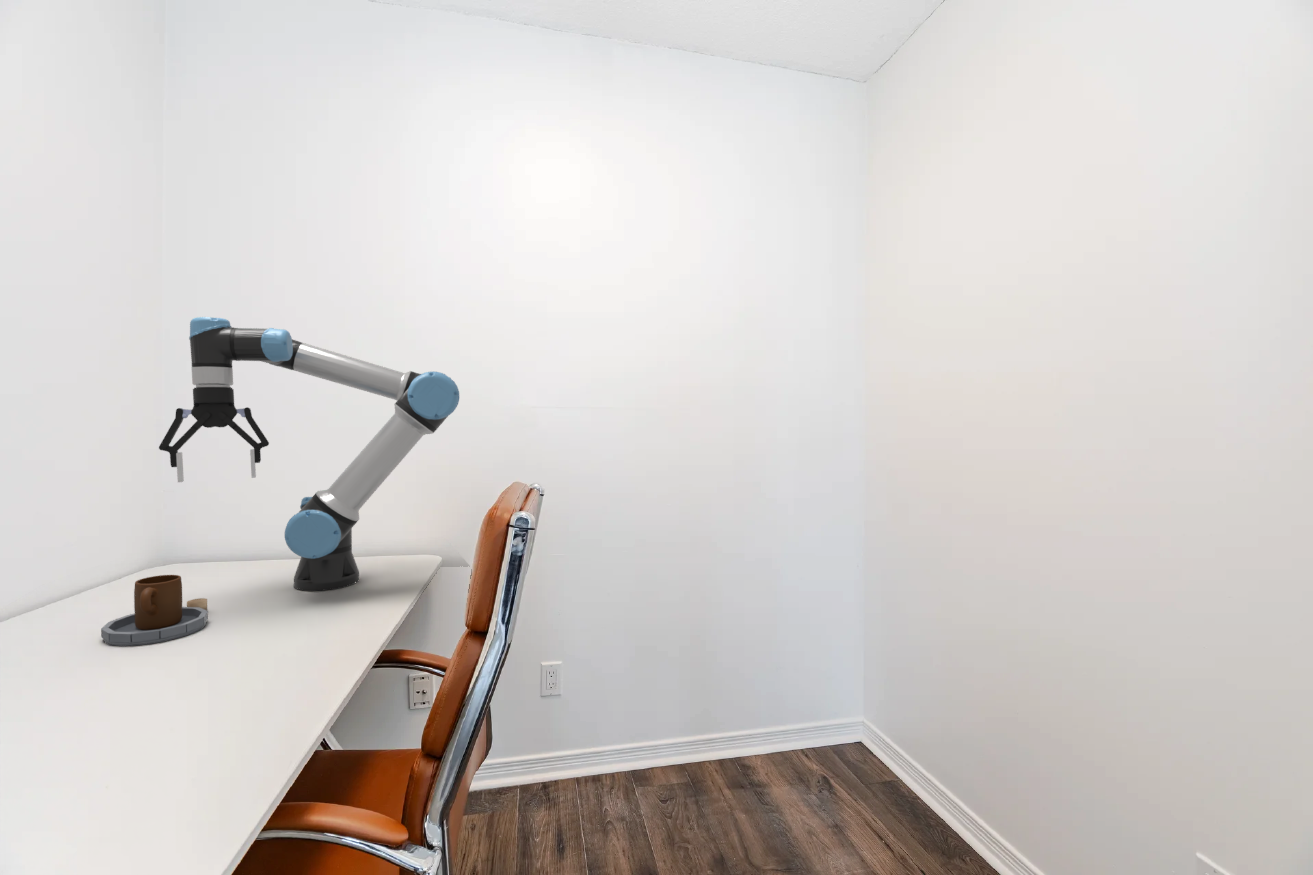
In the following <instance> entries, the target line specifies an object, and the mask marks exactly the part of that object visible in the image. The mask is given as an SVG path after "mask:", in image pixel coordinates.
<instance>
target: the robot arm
mask: <svg viewBox="0 0 1313 875" xmlns="http://www.w3.org/2000/svg"><path fill="white" fill-rule="evenodd" d="M292 338H293V337H292V336H291V333H290V332H289V331H288V330H287V329H284V328H283V329H280V328H275V327H268V328H257V327H256V328H255V327H254V328H251V327H250V328H248V327H247V328H246V327H245V328H244V327H243V328H241V327H239V328H238V327H232V325H231V322H230V321H229V319H226V318H221V317H211V316H210V317H209V316H202V317H201V316H197V317H194V318H192V319H191V320H190V322H189V337H188V340H189V345H190V347H189V348H190V356H191V357H190V359H191V379H192V385H193V386H195V387H194V388H192V401H193V407H192V409H185V408H180V407H179V408H176V409H175V418H174V420H173V422H172V423H171V425H170V427H168V430H167V432H166V433H165V435H164V437H163V439H162V440H161V443H160V444H159V446H158V450H160V451H164V452H167V453H169V458H170V460H169V462H170V466H171V468H176V473H177V475H176V476H177V483H183V482H185V481H184V478H185V477H184V463H183V462H184V461H183V452H182V451H180V449H181V448H182V447H183V446H184V445H185V444H186V443H187V442H188V441H189V440H190V439H191V438H192V437H193V436H194V435H195V434H196V432H198V431H199V430H200V429H201V428H202V427H204V428H208V429H209V428H210V429H211V428H214V427H216V428H225V427H227V426H229V428H231V429H232V430H233V431H234V432H236V434H237V435H238V436H240V437H241V438H242V439H243V440H245V441H246V442H247V444H249V445H250V446H251V447H252V449H250V450H249V452H250V454H249V455H250V469H251V470H250V474H251V478H252V479H253V478H256V476H257V472H256V464H260V463H261V461H262V459H261V455H262V454H261V450H262V448H265V447H268V446H269V444H270V442H269V440H268V439H267V437H266V436H265V435H264V433H263V431H262V430H261V429H260V427H259V425H258V423H257V422H256V420H255V419H254V418H253V415H252V410H251V408H250V407H245V408H236V406H235V395H234V394H235V392H234V388H233V387H231V386H233V385H234V372H233V371H234V370H233V361H235V362H237V361H238V362H242V361H243V362H244V361H245V362H262V363H265V364H269V365H272V366H274V367H280V368H282V369H287V370H290V371H295V372H298V373H301V374H305V375H308V376H312V377H316V378H319V379H322V380H325V381H329V382H333V383H335V384H340V385H342V386H346V387H349V388H354V389H357V390H361V391H364V392H368V393H370V394H375V395H378V396H382V397H385V398H387V399H392V400H394V401H396V402H395V403H394V414H393V415H392V416H391V417H390V418H389V420H388V421H387V422H386V423H385V424H384V425H383V426H382V427H381V429H380V430H378V432H377V433H376V434H375V435H374V436H373V437H372V439H371V440H369V442H368V443H367V445H366V446H365V447H364V448H363V449H362V450H361V451H360V452H359V453H358V455H357V456H356V457H355V458H354V459H353V460H352V461H351V462H350V463H349V465H348V466H347V467H346V468H345V470H344V471H343V472H342V473H341V474H340V475H339V476H338V477H337V478H336V480H334V482H333V483H332V484H331V485H330V486H329V487H328V488H327V489H325V490H317V491H316V492H315V494H314V495H313V496H304V497H303V498H302V499H301V502H300V506H299V507H300V510H299V511H298V512H297V513H296V514H294V515H292V516H291V518H289V520H288V522H287V524H286V526H285V528H284V540H285V543H286V545H287V547H288V548H289V550H290V551H291V552H292V553H293V554H294V555H297V556H299V557H300V559H299V562H298V565H297V568H296V571H295V573H294V576H293V588H294V589H296V590H299V591H311V592H312V591H315V592H316V591H328V590H336V589H340V588H341V589H343V588H346V587H349V586H352V585H354V584H356V583H358V582H359V581H358V580H360V571H359V568H358V565H357V562H356V560H355V557H354V555H353V549H352V548H353V546H352V544H353V540H352V539H353V537H352V536H353V530H352V529H353V528H354V527H355V525H356V524H357V523H358V522H359V520H360V514H359V513H360V512H359V511H360V510H361V509H362V507H363V506H364V505H365V503H367V501H368V500H369V499H370V498H371V497H372V496H373V494H374V493H376V491H377V490H378V488H380V486H381V485H382V484H384V482H385V481H386V480H387V478H388V477H389V476H390V475H391V473H392V472H393V471H394V470H395V469H396V468H397V467H398V465H400V463H401V462H402V461H403V459H405V457H406V456H407V455H408V454H409V453H410V452H411V450H412V449H413V448H414V447H415V446H416V445H417V444H418V442H419V441H420V440H421V439H422V437H423V436H425V435H430V434H431V435H432V434H434V433H436V431H437V430H438V429H439V428H440V426H441V425H442V424H443V423H444V421H445V420H447V418H449V416H450V415H451V414H452V413H454V412H455V410H456V409H457V408H458V405H459V402H460V391H459V388H458V385H457V384H456V382H455V381H454V379H452V378H451V377H450V376H448V375H447V374H445V373H443V372H439V371H426V372H423V373H417V372H414V371H411V370H409V371H407V372H403V371H398V370H396V369H395V370H394V369H393V368H392V369H391V368H388V367H385V366H383V365H379V364H375V363H373V362H369V361H366V360H365V361H364V360H362V359H358V358H355V357H352V356H348V355H346V354H343V353H338V352H335V351H331V350H329V349H326V348H322V347H318V346H315V345H311V344H309V343H305V342H301V341H298V340H296V339H292ZM237 414H238V415H240V417H242V418H245V420H246V422H247V423H248V424H249V426H250V428H251V429H252V430H253V432H254V433H255V435H256V436H257V438H258V439H259V441H260V442H257V441H256V440H255V439H254V438H253V437H251V435H250V434H248V433H247V432H246V431H245V430H244V429H242V427H241V426H239V425H238V423H236V422H235V421H234V418H235V417H236V416H237ZM189 415H191V416H192V417H193V418H194V419H195V420H196V421H195V422H194V423H193V424H192V426H191V427H190V428H189V429H188V430H187V431H186V432H185V433H184V434H182V436H181V437H180V438H179V439H178V440H177V441H176V442H175V443H173V445H172V446H171V445H170V444H171V443H172V440H173V439H174V437H175V435H176V433H177V432H178V430H179V428H180V427H181V426H182V423H183V420H184V419H187V418H188V416H189ZM179 451H180V452H179ZM355 582H356V583H355Z"/></svg>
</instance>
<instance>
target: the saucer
mask: <svg viewBox="0 0 1313 875" xmlns="http://www.w3.org/2000/svg"><path fill="white" fill-rule="evenodd" d="M208 619H209V610H208V609H207V610H205V609H202V608H200V607H187V606H182V619H181V621H180V622H179V623H177V624H175V625H172V626H169V627H165V628H160V629H153V630H141V629H138V628H137V627H136V626H135V613H132V614H131V613H130V614H127V615H124V616H122V617H118V618H116V619H112V620H110V621H108V622H107V623H106V624H104V625H103V626H102V627H101V628H100V634H101V635H100V638H102V639H103V642H104V643H105V644H106V645H109V646H114V647H134V646H135V647H136V646H146V645H152V644H159V643H163V642H169V641H172V640H175V639H176V640H177V639H180V638H183V637H186V636H190V635H191V634H195V633H197V632H198V631H200V630H202V629H203V628H204V627H206V624H207V621H208Z"/></svg>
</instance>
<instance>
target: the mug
mask: <svg viewBox="0 0 1313 875" xmlns="http://www.w3.org/2000/svg"><path fill="white" fill-rule="evenodd" d="M133 598H134V599H133V602H134V605H133V606H134V609H133V610H134V614H135V626H136V627H137V628H138V629H141V630H153V629H160V628H165V627H169V626H172V625H175V624H177V623H179V622H180V621H181V619H182V607H183V582H182V576H181V575H178V574H160V575H154V576H153V575H152V576H147V577H144V578H139V579H137V580H136V581H135V583H134V589H133Z"/></svg>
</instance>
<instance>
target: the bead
mask: <svg viewBox="0 0 1313 875" xmlns="http://www.w3.org/2000/svg"><path fill="white" fill-rule="evenodd" d="M186 607H200V608H202V609H205V610H207V611H208V598H204V597H203V598H194V599H190V600H188V601H186Z"/></svg>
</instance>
